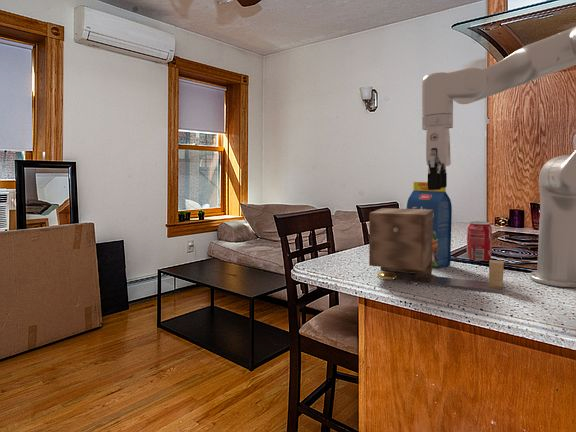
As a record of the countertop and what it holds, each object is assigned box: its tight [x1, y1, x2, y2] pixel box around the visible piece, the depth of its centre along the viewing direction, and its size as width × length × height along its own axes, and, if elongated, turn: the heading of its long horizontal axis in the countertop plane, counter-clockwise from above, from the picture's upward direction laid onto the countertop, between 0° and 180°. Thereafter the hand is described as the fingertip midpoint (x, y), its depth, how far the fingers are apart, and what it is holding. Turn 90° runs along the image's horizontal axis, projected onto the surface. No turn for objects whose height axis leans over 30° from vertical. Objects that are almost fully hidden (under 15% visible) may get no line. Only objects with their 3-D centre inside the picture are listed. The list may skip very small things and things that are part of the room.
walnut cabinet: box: [368, 207, 433, 276], centre depth 108 cm, size 14×14×18 cm
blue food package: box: [406, 181, 453, 269], centre depth 123 cm, size 6×12×25 cm, turn 31°
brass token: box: [377, 271, 398, 280], centre depth 109 cm, size 5×5×1 cm
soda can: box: [466, 221, 493, 262], centre depth 126 cm, size 7×7×12 cm
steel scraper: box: [409, 259, 505, 294], centre depth 101 cm, size 21×7×7 cm, turn 62°
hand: (437, 188), depth 107 cm, fingers open, 9 cm apart
